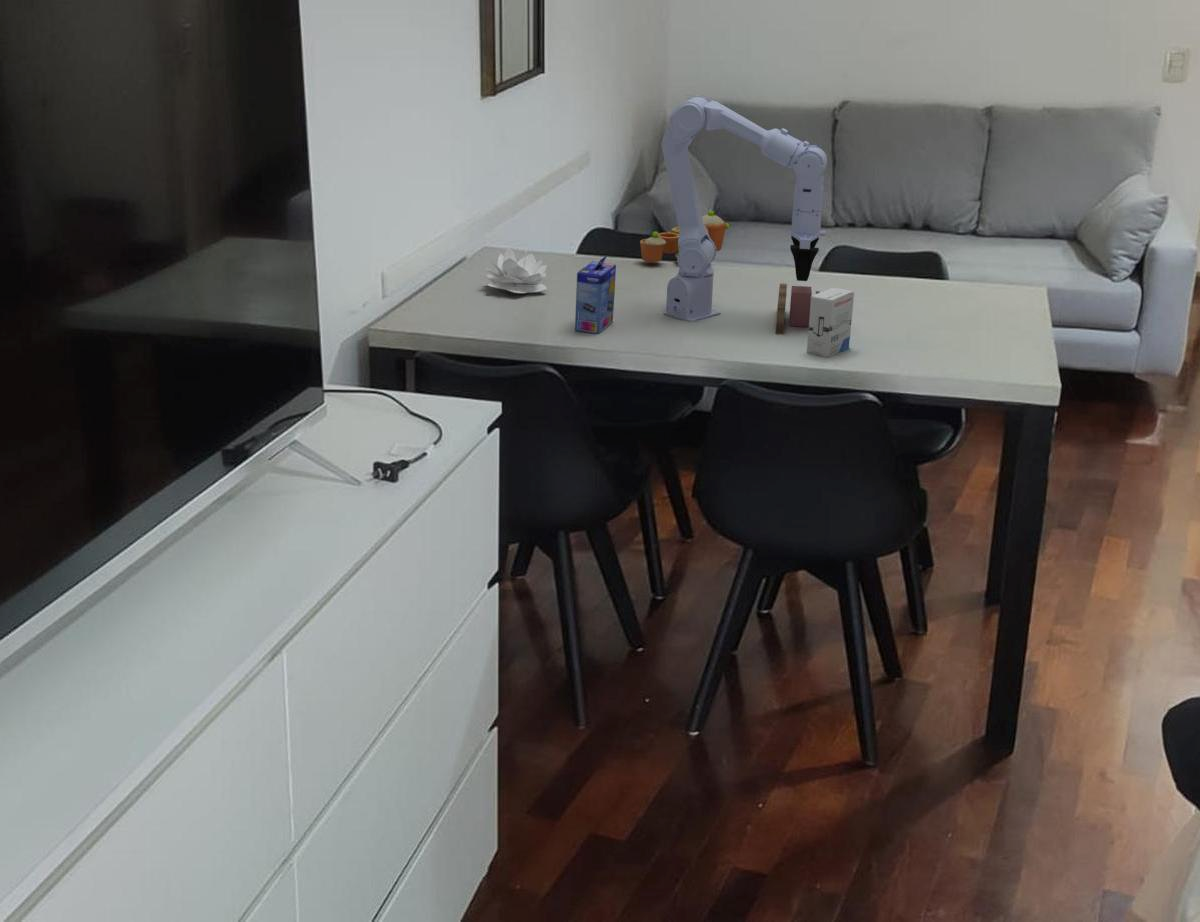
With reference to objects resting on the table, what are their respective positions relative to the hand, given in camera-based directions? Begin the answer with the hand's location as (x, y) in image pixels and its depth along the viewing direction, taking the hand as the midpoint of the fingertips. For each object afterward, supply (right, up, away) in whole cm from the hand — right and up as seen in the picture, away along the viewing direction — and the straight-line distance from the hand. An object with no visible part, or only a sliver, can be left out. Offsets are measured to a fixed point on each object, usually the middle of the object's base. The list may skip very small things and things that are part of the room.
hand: (802, 275), depth 294 cm
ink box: (+3, -17, -14) cm, 22 cm away
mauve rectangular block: (0, -9, +4) cm, 10 cm away
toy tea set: (-21, +12, +56) cm, 61 cm away
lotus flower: (-59, 0, +24) cm, 64 cm away
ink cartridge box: (-42, -11, -2) cm, 43 cm away
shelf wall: (-4, -9, +4) cm, 11 cm away
